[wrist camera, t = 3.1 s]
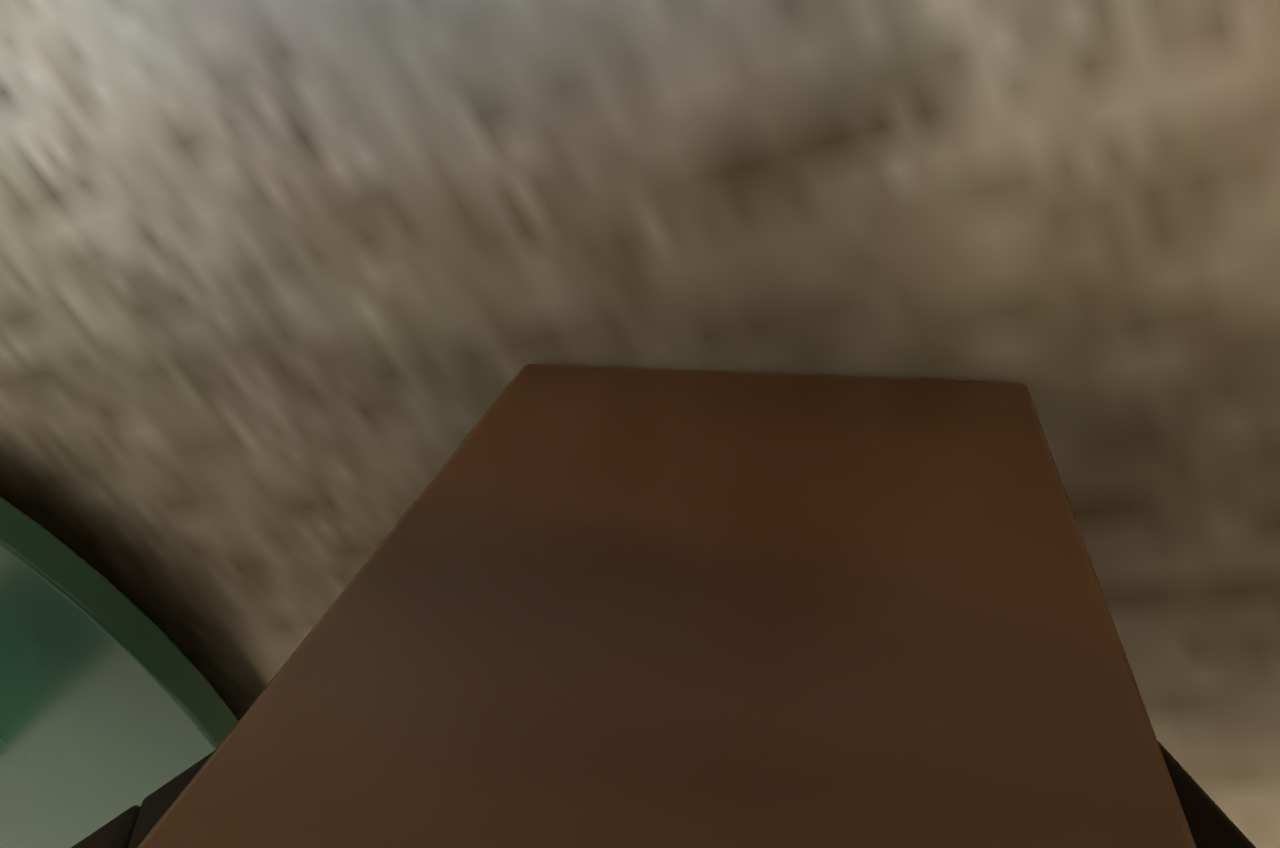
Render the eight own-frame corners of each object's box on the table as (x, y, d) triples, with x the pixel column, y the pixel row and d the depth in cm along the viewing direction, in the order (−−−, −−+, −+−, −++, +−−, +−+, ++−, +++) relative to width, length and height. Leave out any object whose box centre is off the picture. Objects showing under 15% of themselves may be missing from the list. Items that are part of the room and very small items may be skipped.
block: (960, 740, 9) (1054, 1512, 5) (576, 686, 10) (350, 1272, 6) (1028, 380, 7) (1340, 1212, 2) (523, 361, 8) (80, 908, 3)
